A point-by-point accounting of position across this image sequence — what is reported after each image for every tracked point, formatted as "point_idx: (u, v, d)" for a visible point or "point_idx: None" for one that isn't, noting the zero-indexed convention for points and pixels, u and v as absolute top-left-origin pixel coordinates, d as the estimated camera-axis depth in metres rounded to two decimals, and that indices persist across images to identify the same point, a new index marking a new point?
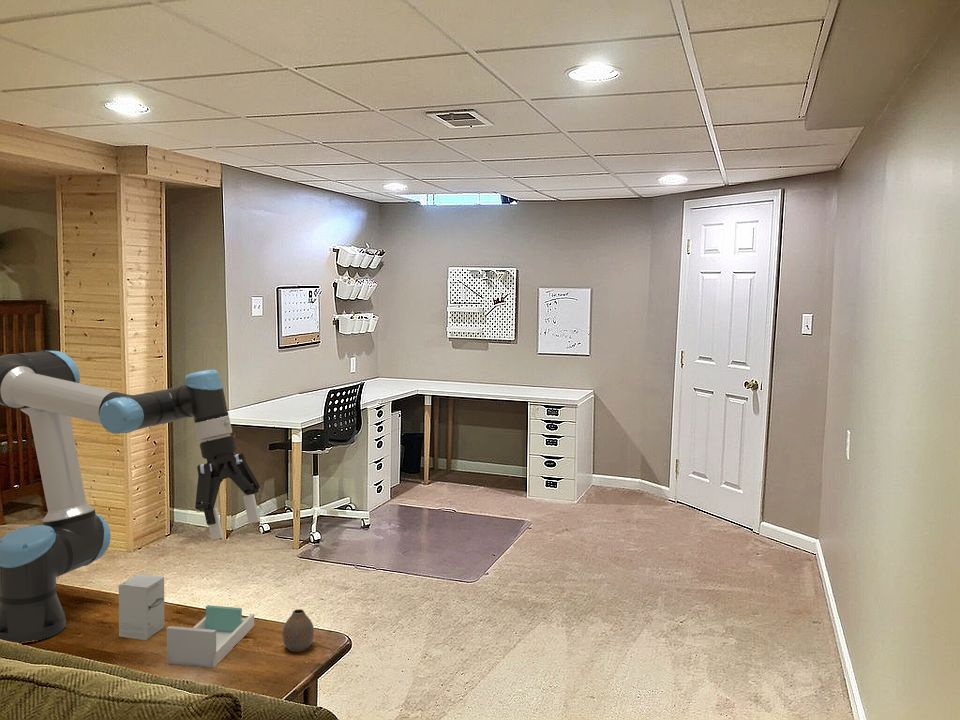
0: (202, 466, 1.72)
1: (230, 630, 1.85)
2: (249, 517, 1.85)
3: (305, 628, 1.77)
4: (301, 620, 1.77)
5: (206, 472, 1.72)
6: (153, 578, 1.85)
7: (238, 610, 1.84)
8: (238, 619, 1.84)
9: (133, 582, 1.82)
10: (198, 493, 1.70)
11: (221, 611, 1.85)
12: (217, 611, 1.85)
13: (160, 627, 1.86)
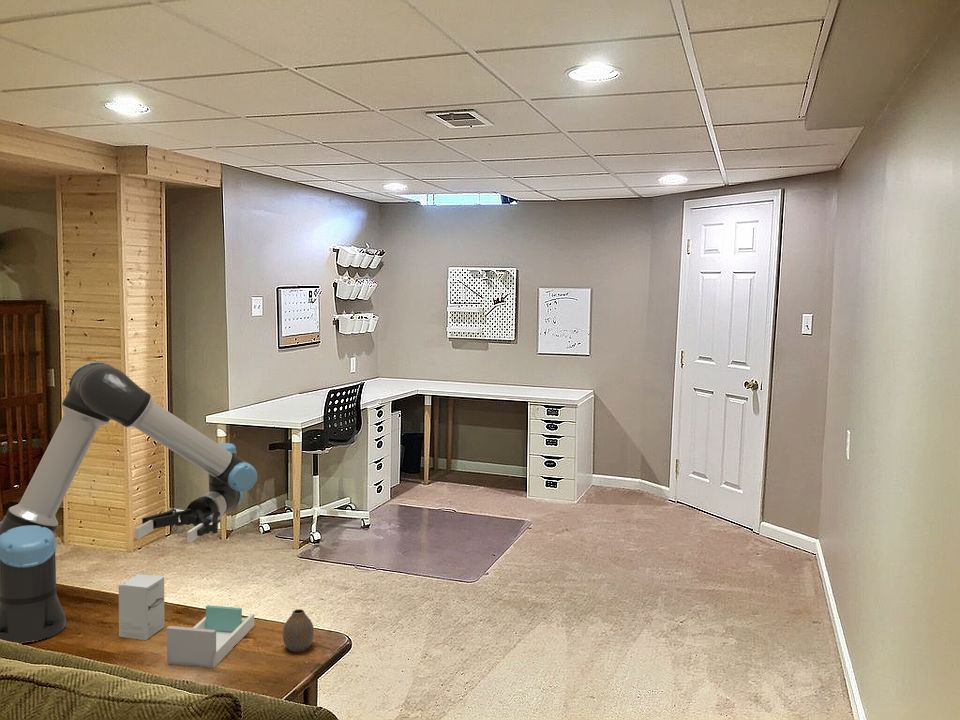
0: None
1: (230, 630, 1.85)
2: (141, 528, 1.94)
3: (305, 628, 1.77)
4: (301, 620, 1.77)
5: (218, 522, 2.05)
6: (153, 578, 1.85)
7: (238, 610, 1.84)
8: (238, 619, 1.84)
9: (133, 582, 1.82)
10: (217, 521, 2.01)
11: (221, 611, 1.85)
12: (217, 611, 1.85)
13: (160, 627, 1.86)
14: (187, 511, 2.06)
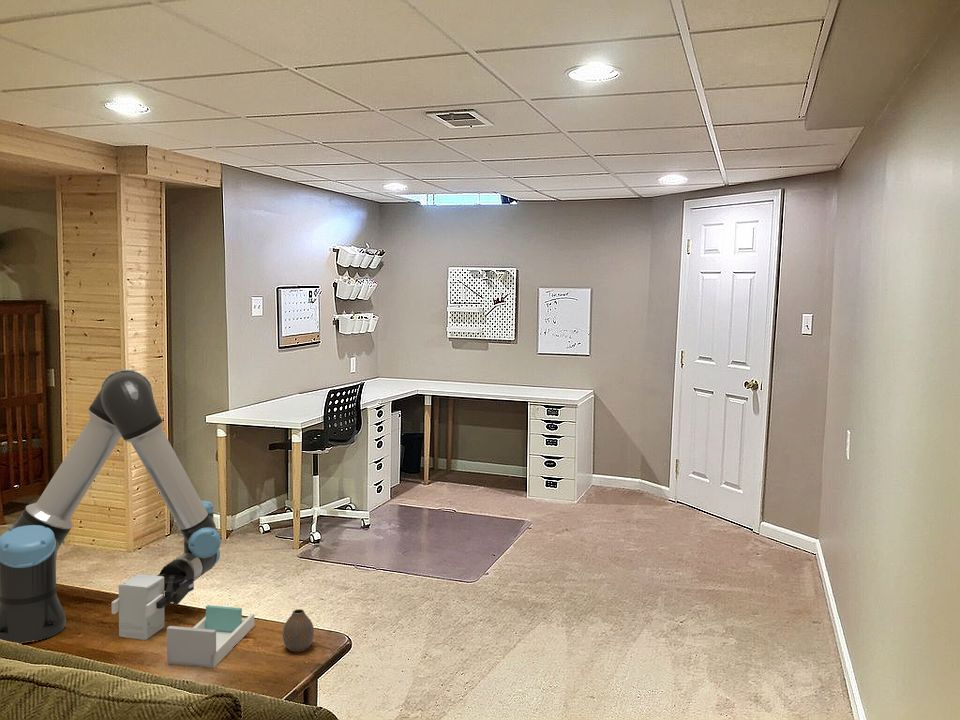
0: (193, 585, 1.95)
1: (230, 630, 1.85)
2: (118, 602, 1.81)
3: (305, 628, 1.77)
4: (301, 620, 1.77)
5: (189, 590, 1.94)
6: (153, 578, 1.85)
7: (238, 610, 1.84)
8: (238, 619, 1.84)
9: (133, 582, 1.82)
10: (182, 591, 1.89)
11: (221, 611, 1.85)
12: (217, 611, 1.85)
13: (160, 627, 1.86)
14: None
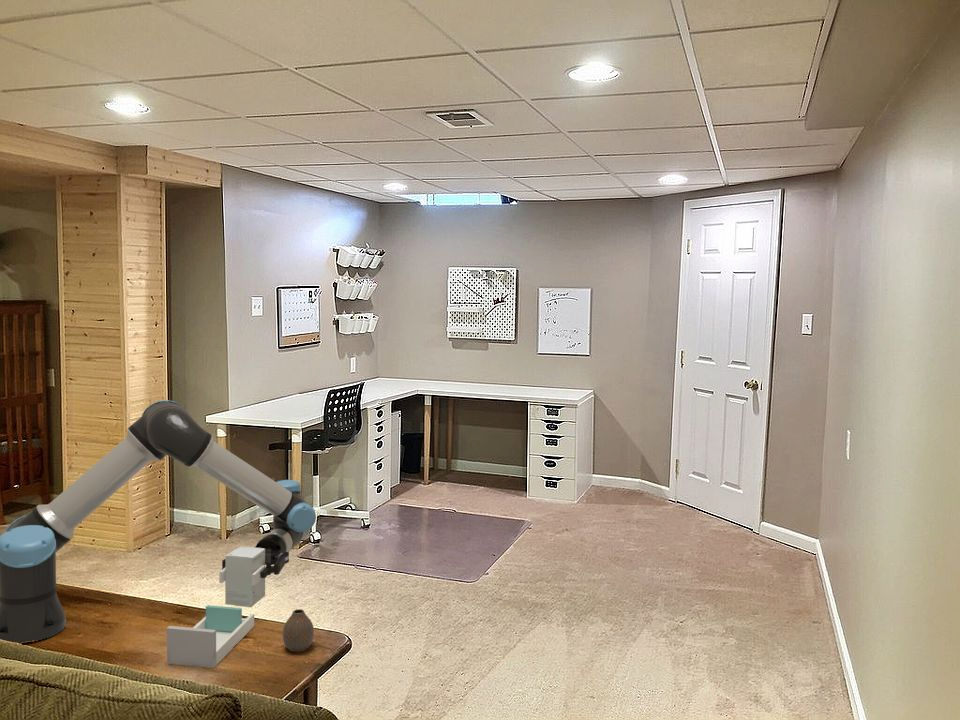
0: (288, 557, 2.07)
1: (230, 630, 1.85)
2: (224, 572, 1.93)
3: (305, 628, 1.77)
4: (301, 620, 1.77)
5: (285, 562, 2.06)
6: (255, 549, 1.97)
7: (238, 610, 1.84)
8: (238, 619, 1.84)
9: (238, 553, 1.94)
10: (281, 562, 2.01)
11: (221, 611, 1.85)
12: (217, 611, 1.85)
13: (262, 596, 1.98)
14: None
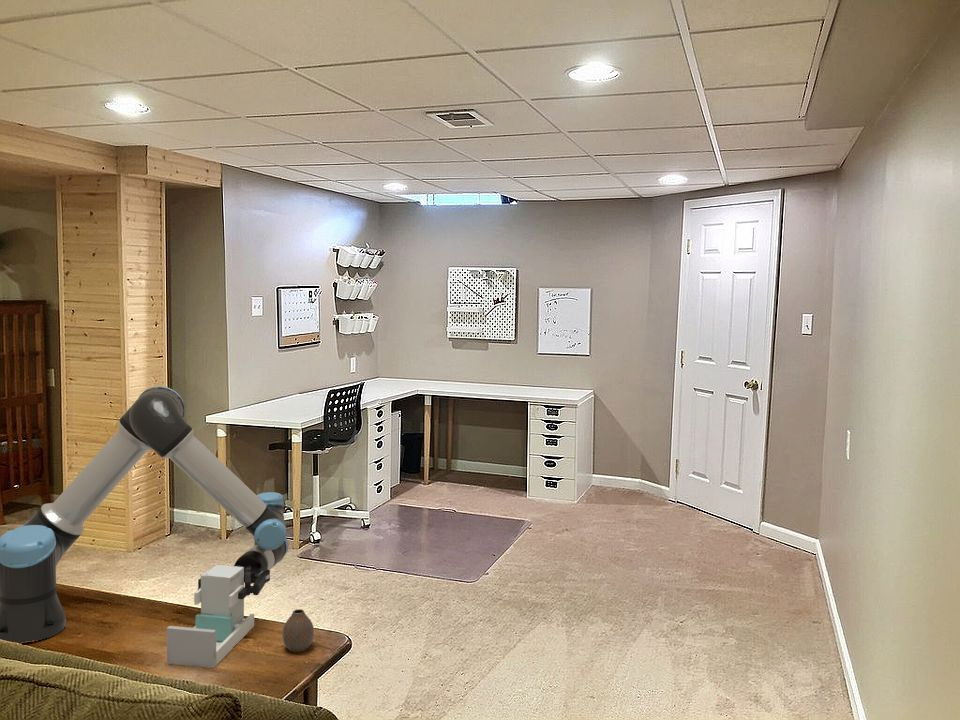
0: (269, 576, 1.94)
1: (220, 639, 1.80)
2: (200, 593, 1.81)
3: (305, 628, 1.77)
4: (301, 620, 1.77)
5: (266, 581, 1.93)
6: (233, 568, 1.85)
7: (229, 619, 1.79)
8: (229, 628, 1.79)
9: (214, 572, 1.82)
10: (261, 582, 1.89)
11: (211, 620, 1.80)
12: (207, 620, 1.80)
13: (240, 617, 1.86)
14: None
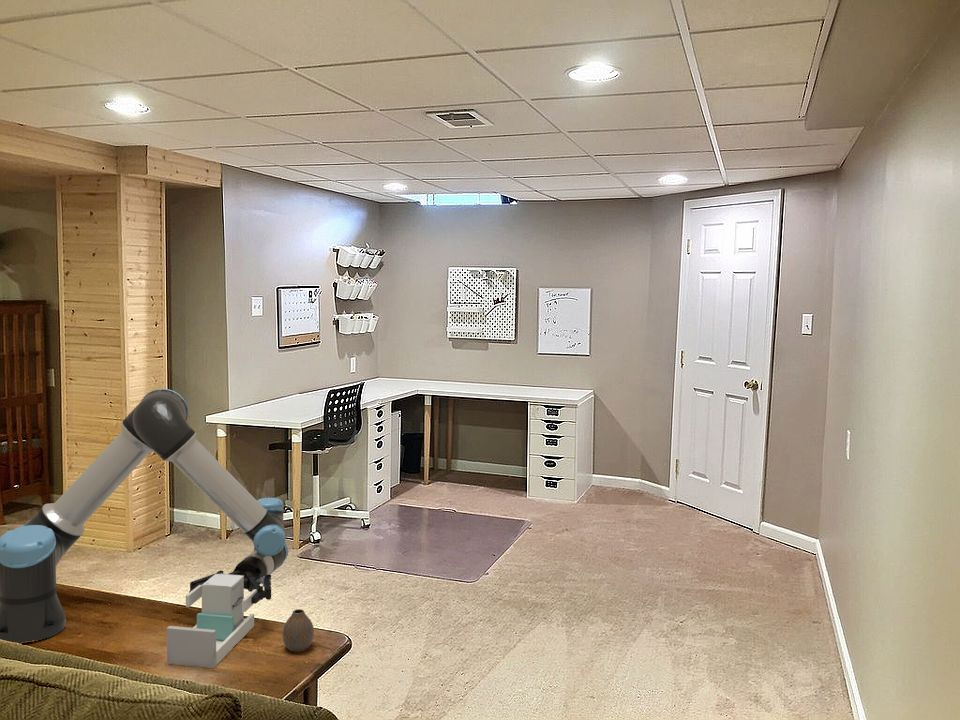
0: None
1: (222, 638, 1.81)
2: (191, 595, 1.83)
3: (305, 628, 1.77)
4: (301, 620, 1.77)
5: None
6: (233, 577, 1.86)
7: (230, 618, 1.80)
8: (230, 627, 1.80)
9: (215, 581, 1.83)
10: None
11: (213, 619, 1.80)
12: (208, 619, 1.80)
13: None
14: (236, 574, 1.94)
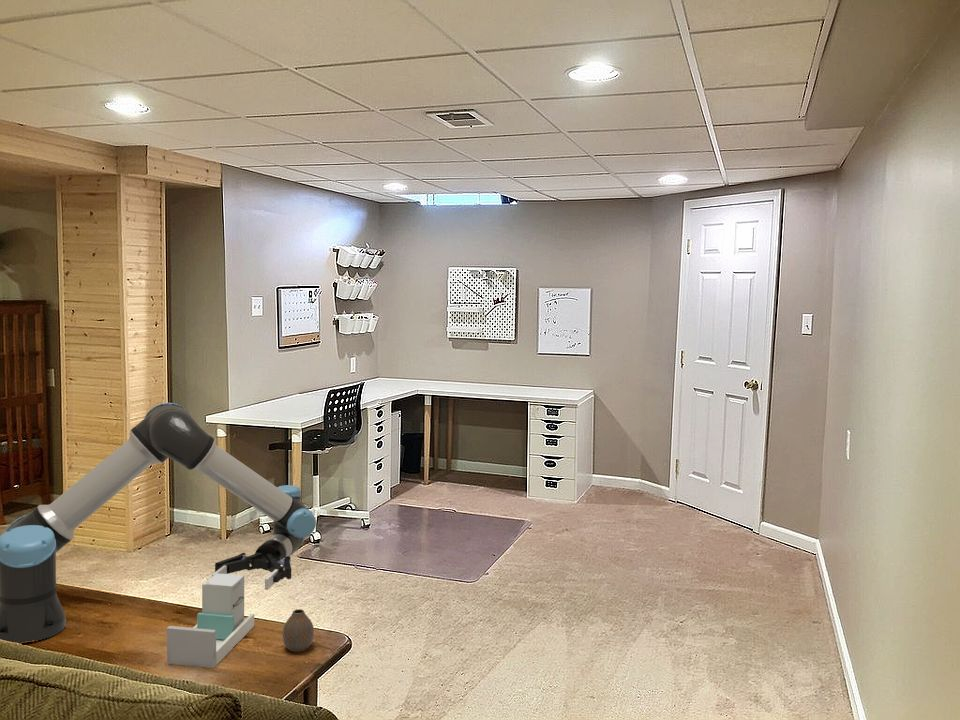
0: None
1: (222, 638, 1.81)
2: None
3: (305, 628, 1.77)
4: (301, 620, 1.77)
5: None
6: (234, 576, 1.86)
7: (230, 617, 1.80)
8: (230, 627, 1.80)
9: (216, 581, 1.83)
10: None
11: (213, 618, 1.81)
12: (209, 618, 1.81)
13: None
14: (258, 555, 2.07)
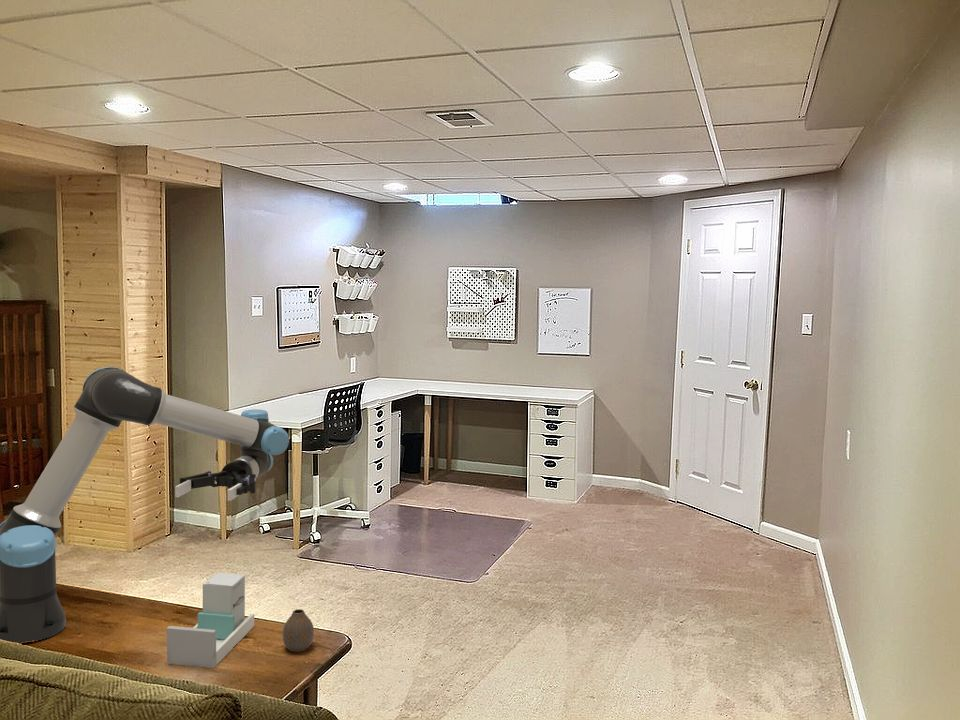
0: (255, 479, 2.09)
1: (222, 637, 1.81)
2: (180, 487, 1.97)
3: (305, 628, 1.77)
4: (301, 620, 1.77)
5: None
6: (234, 576, 1.86)
7: (231, 617, 1.80)
8: (231, 626, 1.80)
9: (216, 581, 1.83)
10: (254, 482, 2.04)
11: (214, 618, 1.81)
12: (209, 618, 1.81)
13: None
14: (223, 473, 2.08)
